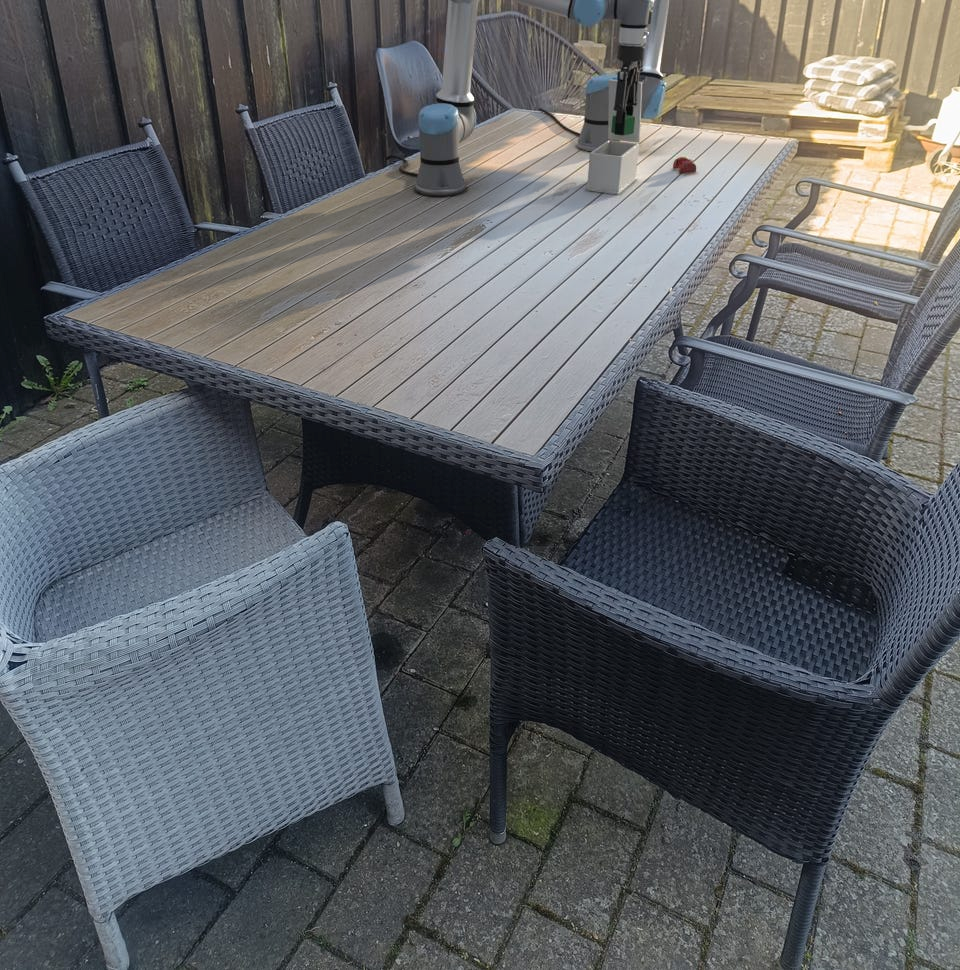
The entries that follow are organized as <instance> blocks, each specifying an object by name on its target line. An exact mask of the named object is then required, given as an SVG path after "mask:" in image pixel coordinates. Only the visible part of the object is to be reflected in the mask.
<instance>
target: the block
mask: <svg viewBox="0 0 960 970" xmlns="http://www.w3.org/2000/svg"><path fill="white" fill-rule="evenodd" d="M615 122H616V115H614V116H613V119H612V129H611V133H614V132H615ZM634 124H635V117H634V116H630V115H627V114H626V120H625V130H624V135H629V134H633V133H634ZM624 135H622V136H624Z"/></svg>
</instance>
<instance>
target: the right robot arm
mask: <svg viewBox="0 0 960 970" xmlns="http://www.w3.org/2000/svg"><path fill="white" fill-rule="evenodd" d="M669 5H670V0H651V3H650V11H649V19H648V27H647V32H648V33H649V34H648V36H646V43H645V44H643V45H644V46H645V55H644V60H642V61H639V62H637V63H638V65H641V69H640V74H639V75H640V76H647V80H646V82H644V83H643V84H642V101H641V119H642V120H645V119H650V120H652V119H653V120H654V119H656V118H657V117H658V116H659V115H660V113H661V110H662V107H663V104H664V100H665V96H666V91H667V82H666V81H664V75H663V73H661V63H662V57H663V49H664V43H665V42H664V41H665V35H666V29H667V21H668V14H669ZM610 79H613V80H617V73H607V74H606V73H605V74H600V75H596V76H593V77H590V78H589V79H588V80H587V83H586V87H585V89H586V90H585V101H584V102H585V103H584V117H583V118H584V119H583V125H582V128H581V131H580V132H577V131H575V130H572V129H571V128H569V127H567V126H566V125H564V124H563V123H562V122H561V121H559V119H557V117H556V116H555V115H554V114H552V112H549V111H548V110H546V109H544V108H542V107H539V108H538V111H540V112H541V113H544V114H546V115H548V116H549V117H550V118H551V119H553V121H555V122H556V124H558V126H559V127H560V128H562V129H563V130H565V131H566V132H568V133H570V134H573V135H575V136H578V139H577V143H576V144H577V145H576V146H577V148H578V149H580V150H582V151H586V152H589V153H591V152H592V151H594V150H595V149H597V148H598V147H600V146H601V145H602V144H604V143H605V142H607V141H608V140H610V141H619V142H622V141H620V140H611V139H608V114H609V80H610Z"/></svg>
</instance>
